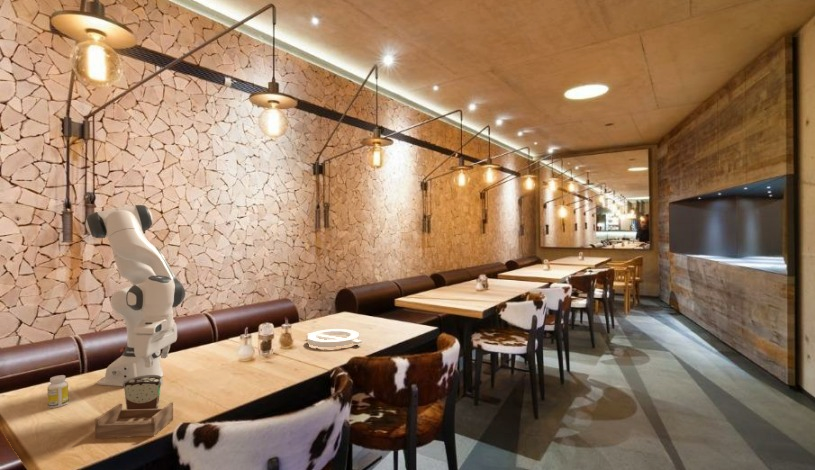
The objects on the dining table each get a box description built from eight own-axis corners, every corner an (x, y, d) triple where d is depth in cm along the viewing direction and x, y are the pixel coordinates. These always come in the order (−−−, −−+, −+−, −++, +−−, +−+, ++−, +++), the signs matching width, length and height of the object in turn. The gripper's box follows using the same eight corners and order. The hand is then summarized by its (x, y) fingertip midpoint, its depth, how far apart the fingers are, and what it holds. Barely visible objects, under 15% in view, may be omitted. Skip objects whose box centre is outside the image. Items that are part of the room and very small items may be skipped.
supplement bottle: (66, 400, 140) (66, 373, 140) (69, 404, 137) (69, 376, 137) (46, 405, 136) (46, 377, 136) (48, 409, 133) (49, 381, 133)
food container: (169, 401, 139) (169, 373, 140) (161, 408, 133) (161, 379, 133) (132, 403, 138) (132, 375, 138) (121, 411, 132) (122, 381, 132)
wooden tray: (154, 436, 115) (154, 417, 115) (95, 438, 114) (95, 418, 114) (173, 419, 125) (173, 402, 125) (119, 421, 124) (119, 403, 124)
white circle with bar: (306, 339, 226) (306, 331, 226) (354, 335, 234) (354, 327, 234) (308, 353, 199) (308, 343, 199) (363, 348, 207) (363, 339, 207)
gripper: (165, 316, 146) (163, 352, 146) (130, 329, 126) (128, 372, 126) (182, 316, 147) (181, 353, 147) (150, 330, 126) (149, 372, 126)
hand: (156, 362), depth 136 cm, fingers open, 8 cm apart
